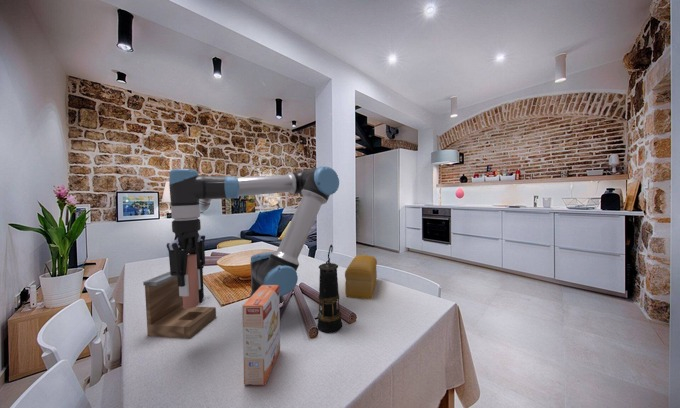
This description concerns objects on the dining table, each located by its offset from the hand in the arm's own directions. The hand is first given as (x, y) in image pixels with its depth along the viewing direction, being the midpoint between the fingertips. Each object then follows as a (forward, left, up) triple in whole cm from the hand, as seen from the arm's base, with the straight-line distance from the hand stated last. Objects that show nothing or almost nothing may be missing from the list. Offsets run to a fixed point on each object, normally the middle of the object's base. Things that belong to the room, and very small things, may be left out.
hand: (190, 292), depth 76 cm
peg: (0, 0, -4) cm, 4 cm away
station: (+12, -11, -18) cm, 24 cm away
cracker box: (-27, +6, -18) cm, 33 cm away
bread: (-53, -52, -18) cm, 76 cm away
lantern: (-42, -16, -18) cm, 48 cm away
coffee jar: (+24, -29, -18) cm, 42 cm away
